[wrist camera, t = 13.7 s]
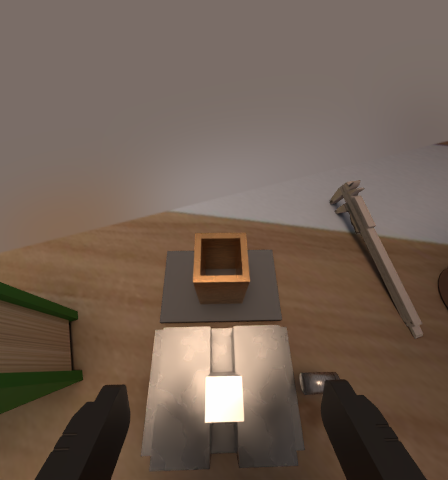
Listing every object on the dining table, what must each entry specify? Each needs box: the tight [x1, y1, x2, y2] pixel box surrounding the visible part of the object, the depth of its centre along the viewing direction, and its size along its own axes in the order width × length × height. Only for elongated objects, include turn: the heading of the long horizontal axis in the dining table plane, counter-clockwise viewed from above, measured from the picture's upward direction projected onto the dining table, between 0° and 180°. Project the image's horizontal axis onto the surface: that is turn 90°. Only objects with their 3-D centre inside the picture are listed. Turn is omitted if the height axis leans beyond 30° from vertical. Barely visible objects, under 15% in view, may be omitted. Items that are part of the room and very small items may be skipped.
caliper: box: [330, 180, 423, 338], centre depth 28 cm, size 20×1×6 cm, turn 16°
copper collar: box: [193, 233, 250, 304], centre depth 24 cm, size 5×5×8 cm
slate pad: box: [160, 250, 282, 323], centre depth 28 cm, size 14×9×1 cm, turn 91°
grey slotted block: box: [141, 325, 340, 471], centre depth 18 cm, size 17×10×13 cm, turn 91°
